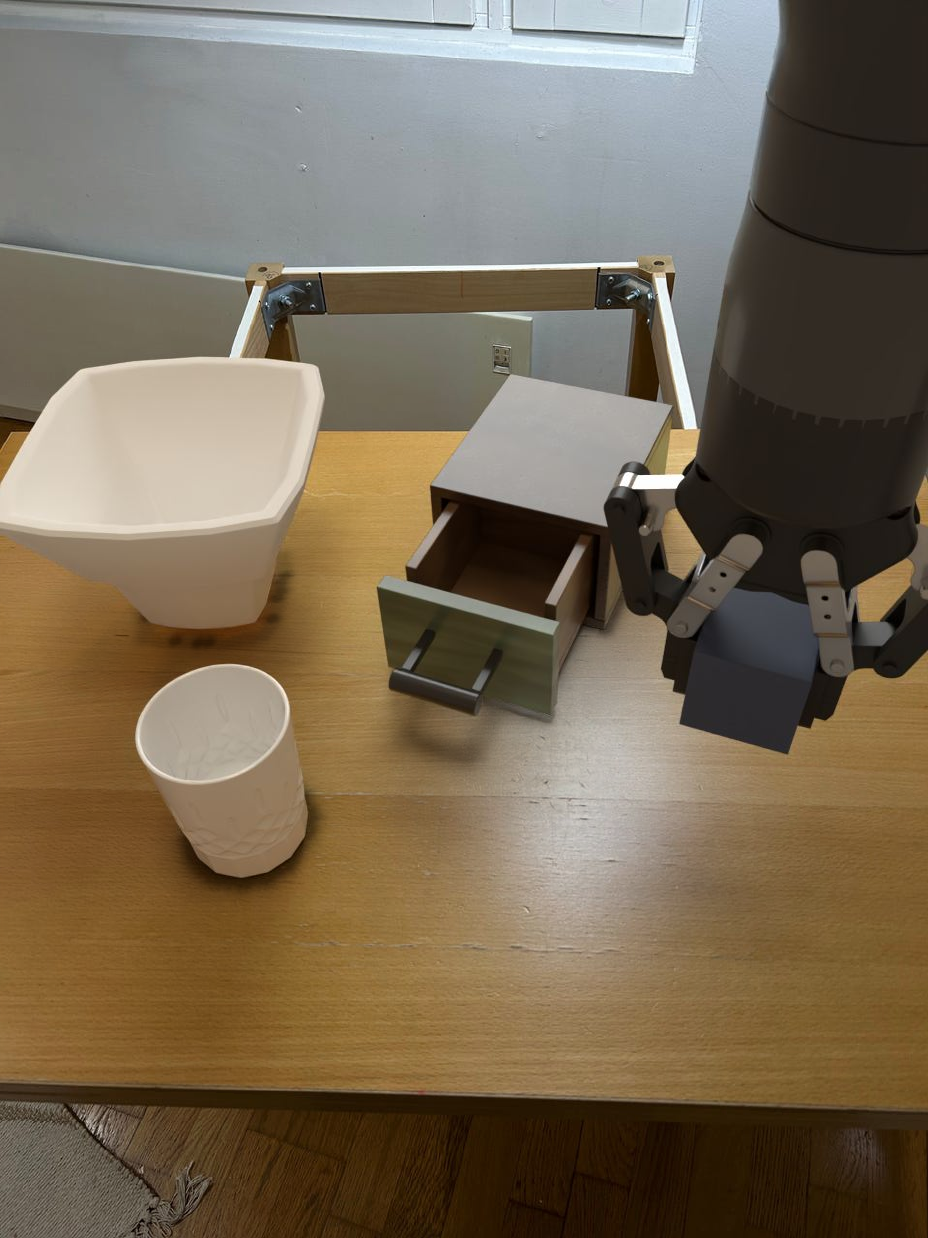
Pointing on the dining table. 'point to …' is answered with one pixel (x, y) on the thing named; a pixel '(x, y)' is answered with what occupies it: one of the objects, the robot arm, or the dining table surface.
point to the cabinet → (556, 462)
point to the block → (752, 670)
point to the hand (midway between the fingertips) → (744, 695)
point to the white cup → (227, 766)
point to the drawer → (487, 609)
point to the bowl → (169, 481)
